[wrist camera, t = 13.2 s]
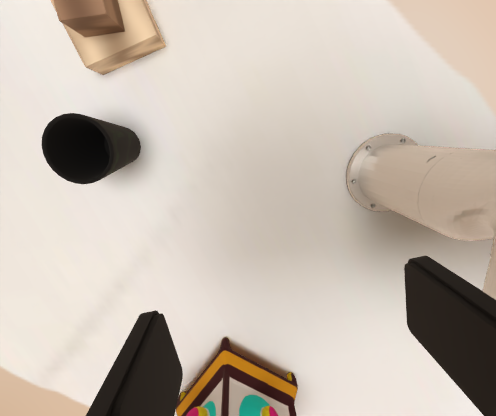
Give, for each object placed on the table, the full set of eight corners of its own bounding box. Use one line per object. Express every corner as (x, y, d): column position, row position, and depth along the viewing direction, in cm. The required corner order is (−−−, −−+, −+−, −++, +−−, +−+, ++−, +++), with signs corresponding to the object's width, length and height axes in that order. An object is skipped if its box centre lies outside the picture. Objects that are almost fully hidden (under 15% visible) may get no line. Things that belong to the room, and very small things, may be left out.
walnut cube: (113, -17, 31) (91, -44, 27) (125, 31, 33) (106, 13, 28) (72, -10, 31) (42, -37, 27) (85, 37, 33) (59, 20, 28)
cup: (99, 113, 39) (42, 104, 28) (150, 126, 40) (116, 123, 29) (94, 163, 41) (39, 175, 30) (143, 175, 42) (109, 191, 31)
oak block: (132, -32, 35) (115, -59, 30) (166, 47, 38) (156, 34, 33) (65, -1, 36) (39, -21, 31) (104, 75, 38) (85, 67, 34)
